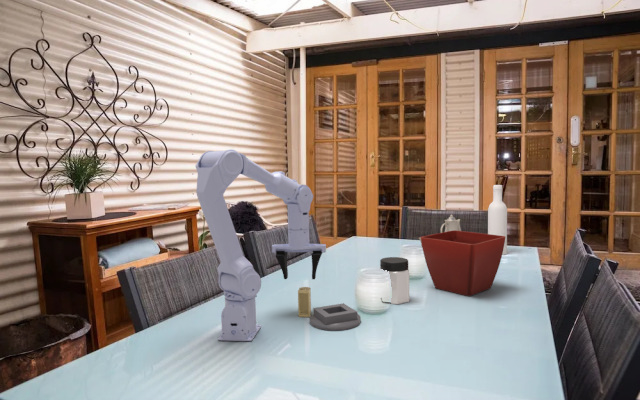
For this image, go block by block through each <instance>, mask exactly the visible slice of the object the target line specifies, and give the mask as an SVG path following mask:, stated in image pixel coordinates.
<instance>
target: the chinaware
mask: <svg viewBox="0 0 640 400" xmlns="http://www.w3.org/2000/svg"><path fill="white" fill-rule="evenodd" d="M460 221H461V218H458V219H456V217H454V215H453V214H450V215H449V217H447V219H444V223H442V224H441V226H440V233H442V232H443V228H444V226H445V229H444V232H447V231H453V230H457V231H462V229H461V224H460ZM418 240H419V241H420V247H422V243H421V237H418Z"/></svg>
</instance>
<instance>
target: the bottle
mask: <svg viewBox="0 0 640 400" xmlns="http://www.w3.org/2000/svg"><path fill="white" fill-rule="evenodd" d="M492 191H493V192H492V194H493V195H492V201H491V203H489V206H488V208H487V234H491V235H499V236H505V243H504V248H503V253H502V256H506V255H507V253H508V207H507V205H506V203H505V202H504V201H503V185H502V184H494V185H492Z"/></svg>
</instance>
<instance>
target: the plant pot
mask: <svg viewBox="0 0 640 400" xmlns="http://www.w3.org/2000/svg"><path fill="white" fill-rule="evenodd" d="M420 238H421V242H420V244H421V243H422V246H421V248H422V252H423V253H422V254H423V255H424V259H425V264H426V267H427V269H428V273H429V276H430V278H431V281H432V285H433V286H434V288H435V289H438V290H442V291H446V292H451V293H455V294H458V295H463V296H466V297H471V296H473V295H476V294H479V293H481V292H484V291H487V290H489V289H491V288H492V285H493V284H494V281H495V278H496V276H497V274H498V270H499V268H500V263H501V260H502V258H503V257H502V256H503V255H502V253H503V248H504V243H505V236H499V235H491V234H488V233H482V232H481V233H480V232H471V231H464V230H461V231H457V230H453V231H447V232H445V231H442V233H441V232H439V233H433V234H427V235H424V236H423V235H422V236H420Z"/></svg>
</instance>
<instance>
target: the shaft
mask: <svg viewBox="0 0 640 400" xmlns="http://www.w3.org/2000/svg"><path fill="white" fill-rule="evenodd" d="M311 296H312V295H311V287H310V286H302V287H299V289H298V290H297V303H298V304H297V305H298V306H297V310H298V311H297V312H298V318H310V316H311V315H312V297H311Z"/></svg>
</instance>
